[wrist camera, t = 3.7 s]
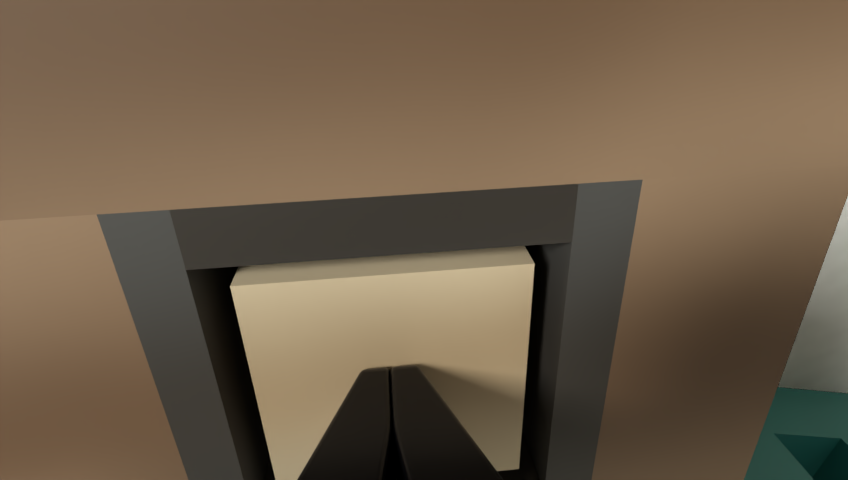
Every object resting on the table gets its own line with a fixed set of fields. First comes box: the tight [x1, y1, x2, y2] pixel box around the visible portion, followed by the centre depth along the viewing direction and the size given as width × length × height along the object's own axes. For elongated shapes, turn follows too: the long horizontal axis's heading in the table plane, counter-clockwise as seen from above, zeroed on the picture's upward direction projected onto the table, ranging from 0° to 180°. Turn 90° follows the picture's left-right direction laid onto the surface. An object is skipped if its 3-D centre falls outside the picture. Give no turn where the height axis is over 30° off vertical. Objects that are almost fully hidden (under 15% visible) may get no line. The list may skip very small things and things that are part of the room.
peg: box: [230, 246, 535, 480], centre depth 10 cm, size 4×4×6 cm
